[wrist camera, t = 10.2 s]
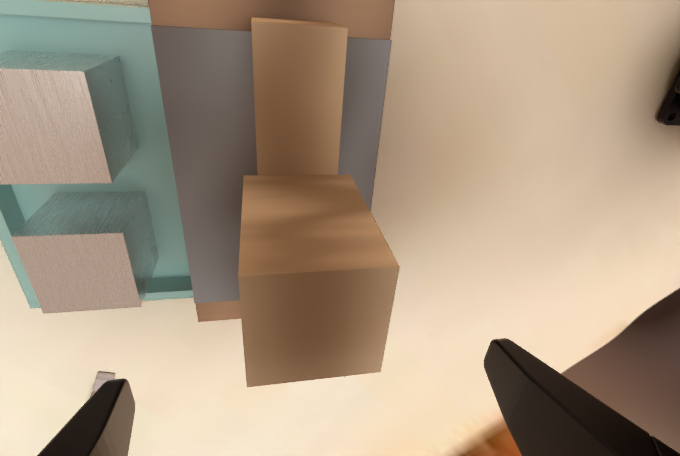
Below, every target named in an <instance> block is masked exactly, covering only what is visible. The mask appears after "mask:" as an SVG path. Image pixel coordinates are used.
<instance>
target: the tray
mask: <svg viewBox="0 0 680 456" xmlns="http://www.w3.org/2000/svg"><path fill="white" fill-rule="evenodd" d="M151 25H152V23H151V16H150V10H149V6H138V5H124V4H110V3H96V2H81V1H67V0H0V52H4V51H8V50H16V51H37V52H58V53H80V54H101V55H120V60H121V65H122V70H123V75H124V80H125V85H126V90H127V95H128V100H129V105H130V110H131V115H132V120H133V125H134V130H135V135H136V140H137V145H138V149H137V150H136V152H135V153H134V154H133V156H132V157H131V158H130V160H129V161H128V162H127V164H126V165H125V166H124V168H123V169H122V170H121V172H120V173H119V174H118V176H117V177H116V178H115V180H114V181H113V182H112V183H80V184H1V185H0V240H1V242H2V244H3V247H4V249H5V251H6V253H7V256H8V258H9V260H10V262H11V265H12V267H13V269H14V271H15V274H16V276H17V278H18V281H19V283H20V285H21V287H22V290H23V292H24V294H25V296H26V299H27V301H28V303H29V305H30V308H41V306H40V304H39V302H38V299H37V297H36V295H35V292H34V290H33V288H32V285H31V283H30V280H29V278H28V276H27V273H26V271H25V269H24V266H23V264H22V262H21V259H20V257H19V254H18V252H17V250H16V247H15V245H14V243H13V240H12V238H11V236H12V235H13V234H14V233H15V232H16V231H17V230H18V229H19V228H20V227H21V226H22V225H23V224H24V223H25V222H26V221H27V220H28V219H29V218H30V217H31V216H32V215H33V214H34V213H35V212H36V211H37V210H38V209H39V208H40V207H41V206H42V205H43V204H44V203H45V202H46V201H47V200H48V199H49V198H50V197H51V196H52V195H53V194H54V193H57V192H120V191H146V195H147V200H148V205H149V210H150V215H151V220H152V225H153V230H154V235H155V240H156V245H157V250H158V255H159V259H158V261H157V264H156V267H155V270H154V273H153V275H152V278H151V281H150V284H149V286H148V289H147V292H146V295H145V298H144V300H143V301H147V300H162V299H176V298H191V297H194V296H193V289H192V283H191V277H190V271H189V264H188V258H187V252H186V245H185V239H184V233H183V226H182V220H181V214H180V207H179V201H178V195H177V189H176V182H175V176H174V170H173V163H172V157H171V151H170V144H169V138H168V132H167V126H166V119H165V113H164V107H163V100H162V94H161V88H160V81H159V75H158V69H157V62H156V56H155V50H154V44H153V37H152V31H151Z"/></svg>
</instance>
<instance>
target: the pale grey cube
mask: <svg viewBox="0 0 680 456" xmlns="http://www.w3.org/2000/svg"><path fill="white" fill-rule="evenodd" d="M137 149H138V145H137V140H136V135H135V130H134V125H133V120H132V115H131V110H130V105H129V100H128V95H127V90H126V85H125V80H124V75H123V70H122V65H121V60H120V55H101V54H80V53H58V52H37V51H16V50H8V51H4V52H0V185H1V184H80V183H112V182H113V181H114V180H115V178H116V177H117V176H118V174H119V173H120V172H121V170H122V169H123V168H124V166H125V165H126V164H127V162H128V161H129V160H130V158H131V157H132V156H133V154H134V153H135V152H136V150H137Z"/></svg>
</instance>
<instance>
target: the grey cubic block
mask: <svg viewBox="0 0 680 456" xmlns="http://www.w3.org/2000/svg"><path fill="white" fill-rule="evenodd" d="M11 238H12V240H13V243H14V245H15V247H16V250H17V252H18V254H19V257H20V259H21V262H22V264H23V266H24V269H25V271H26V273H27V276H28V278H29V280H30V283H31V285H32V288H33V290H34V292H35V295H36V297H37V299H38V302H39V304H40V306H41V309H42V311H43V313H58V312H72V311H86V310H100V309H115V308H129V307H141V306H142V303H143V300H144V298H145V295H146V292H147V289H148V286H149V284H150V281H151V278H152V275H153V273H154V270H155V267H156V264H157V261H158V259H159V255H158V250H157V245H156V240H155V235H154V230H153V225H152V220H151V215H150V210H149V205H148V200H147V195H146V191H120V192H57V193H54V194H53V195H52V196H51V197H50V198H49V199H48V200H47V201H46V202H45V203H44V204H43V205H42V206H41V207H40V208H39V209H38V210H37V211H36V212H35V213H34V214H33V215H32V216H31V217H30V218H29V219H28V220H27V221H26V222H25V223H24V224H23V225H22V226H21V227H20V228H19V229H18V230H17V231H16V232H15V233H14V234H13V235H12V236H11Z"/></svg>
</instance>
